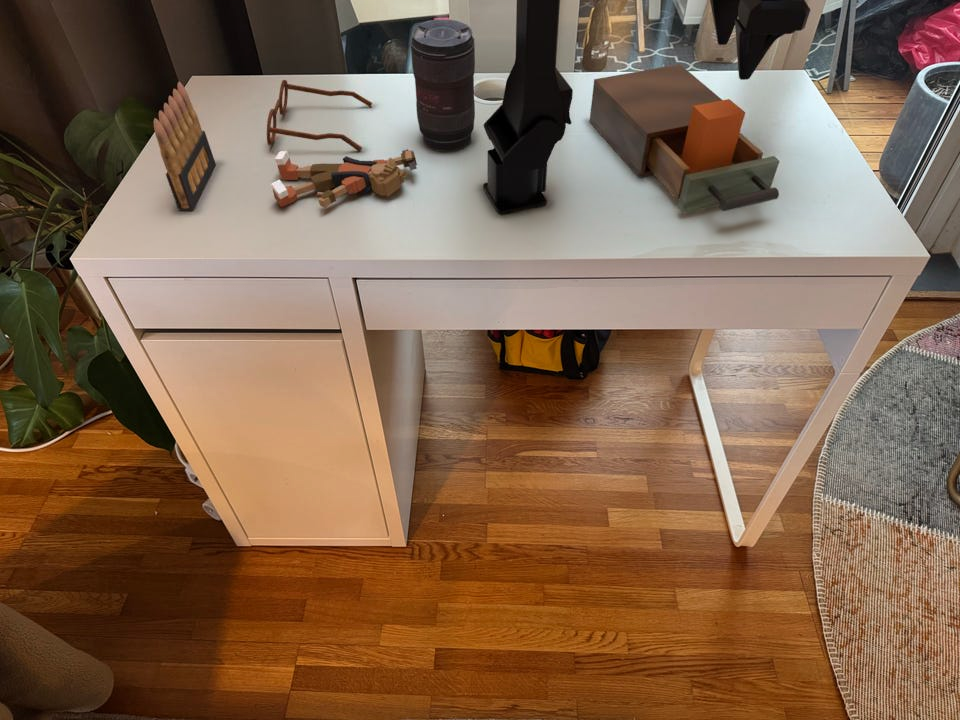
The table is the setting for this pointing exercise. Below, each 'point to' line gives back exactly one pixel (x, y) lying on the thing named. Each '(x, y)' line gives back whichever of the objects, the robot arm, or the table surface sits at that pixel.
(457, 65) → the camera lens
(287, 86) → the glasses
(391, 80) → the table surface
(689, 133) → the orange rectangular block
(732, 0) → the robot arm
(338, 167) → the character figurine
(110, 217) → the table surface
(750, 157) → the drawer
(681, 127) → the cabinet
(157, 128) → the ammunition clip
